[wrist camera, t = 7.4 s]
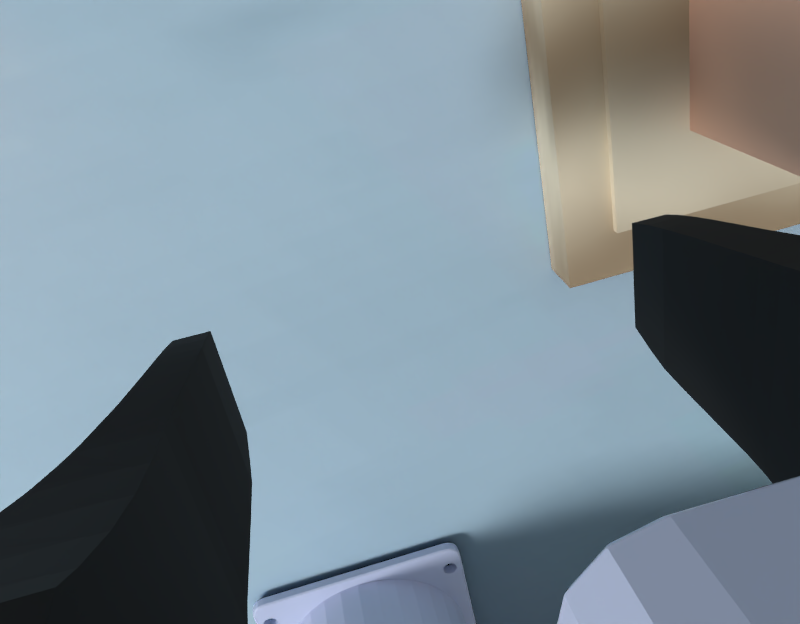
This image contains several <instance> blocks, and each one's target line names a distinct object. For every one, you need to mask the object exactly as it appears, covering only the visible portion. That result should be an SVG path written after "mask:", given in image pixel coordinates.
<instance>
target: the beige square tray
mask: <svg viewBox="0 0 800 624" xmlns="http://www.w3.org/2000/svg"><path fill="white" fill-rule="evenodd" d="M521 4H522V13H523V21H524V30H525V39H526V48H527V57H528V65H529V74H530V83H531V92H532V100H533V109H534V118H535V127H536V135H537V144H538V153H539V162H540V170H541V179H542V188H543V197H544V205H545V214H546V223H547V232H548V240H549V249H550V258H551V267H552V270H553V271H554V272H555V273H556V274H557V275H558V276H559V277H560V278H561V279H562V280H563V281H564V282H565V283H566V284H567V285H568V286H569V287H570V288H572V287H576V286H580V285H583V284H587V283H590V282H594V281H597V280H601V279H605V278H608V277H612V276H615V275H619V274H622V273H626V272H630V271H633V270H634V269H633V241H632V223H634V222H638V221H642V220H646V219H650V218H654V217H658V216H662V215H666V214H669V215H685V216H693V217H700V218H706V219H712V220H718V221H723V222H729V223H734V224H740V225H745V226H750V227H755V228H761V229H766V230H772V231H776V230H780V229H783V228H787V227H790V226H794V225H797V224H800V176H798V175H795V174H793V173H790V172H788V171H786V170H783V169H781V168H779V167H776V166H774V165H771V164H769V163H767V162H764V161H762V160H760V159H757V158H755V157H752V156H750V155H748V154H745V153H743V152H740V151H738V150H736V149H733V148H731V147H729V146H726V145H724V144H721V143H719V142H717V141H714V140H712V139H710V138H707V137H705V136H702V135H700V134H698V133H695V132H693V131H691V130H690V63H689V0H521Z"/></svg>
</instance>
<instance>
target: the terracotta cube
mask: <svg viewBox="0 0 800 624" xmlns="http://www.w3.org/2000/svg"><path fill="white" fill-rule="evenodd" d="M689 63H690V130H691V131H693V132H695V133H698V134H700V135H702V136H705V137H707V138H710V139H712V140H714V141H717V142H719V143H721V144H724V145H726V146H729V147H731V148H733V149H736V150H738V151H740V152H743V153H745V154H748V155H750V156H752V157H755V158H757V159H760V160H762V161H764V162H767V163H769V164H771V165H774V166H776V167H779V168H781V169H783V170H786V171H788V172H790V173H793V174H795V175H798V176H800V0H689Z"/></svg>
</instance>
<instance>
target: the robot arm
mask: <svg viewBox="0 0 800 624" xmlns="http://www.w3.org/2000/svg"><path fill="white" fill-rule="evenodd" d="M632 241H633V269H634V298H635V326H636V329H637V330H638V332H639V333H640V335H641V336H642V338H643V339H644V341H645V342H646V344H647V345H648V347H649V348H650V349H651V351H652V352H653V354H654V355H655V356H656V358H657V359H658V360H659V362H660V363H661V365H662V366H663V367H664V369H665V370H666V371H667V372H668V373H669V374H670V375H671V376H672V377H673V378H674V379H675V380H676V381H677V383H678V384H679V385H680V386H681V387H682V388H683V389H684V390H685V391H686V392H687V393H688V394H689V395H690V396H691V397H692V398H693V399H694V400H695V401H696V402H697V403H698V404H699V405H700V406H701V407H702V408H703V409H704V410H705V411H706V412H707V413H708V414H709V416H710V417H711V418H712V419H713V420H714V421H715V422H716V423H717V424H718V425H719V426H720V427H721V428H722V429H723V430H724V431H725V432H726V433H727V434H728V435H729V436H730V437H731V438H732V439H733V440H734V441H735V442H736V443H737V444H738V445H739V446H740V447H741V448H742V449H743V450H744V451H745V452H746V453H747V454H748V455H749V456H750V458H751V459H752V460H753V461H754V462H755V463H756V464H757V465H758V466H759V468H760V469H761V470H762V471H763V472H764V473H765V474H766V475H767V477H768V478H769V479H770V481H771V482H772V483H773V484H771V485H767V486H764V487H761V488H757V489H754V490H750V491H747V492H744V493H740V494H737V495H733V496H730V497H727V498H723V499H720V500H716V501H713V502H710V503H706V504H703V505H699V506H696V507H693V508H689V509H686V510H682V511H679V512H676V513H672V514H669V515H665V516H662V517H660V518H658V519H656V520H654V521H652V522H650V523H649V524H647V525H645V526H643V527H641V528H639V529H637V530H635V531H633V532H631V533H629V534H627V535H625V536H623V537H621V538H619V539H617V540H615V541H613V542H611V543H609V544H607V546H606V547H605V548H604V549H603V550H602V551H601V552H600V553H599V554H598V556H597V557H596V558H595V559H594V560H593V561H592V562H591V563H590V564H589V566H588V567H587V568H586V569H585V570H584V571H583V572H582V573H581V574H580V576H579V577H578V578H577V579H576V580H575V581H574V582H573V583H572V584H571V586H570V587H569V588H568V590H567V591H566V593H565V594H564V597H563V602H562V606H561V610H560V615H559V619H558V623H557V624H800V235H795V234H789V233H783V232H777V231H772V230H766V229H761V228H755V227H750V226H745V225H740V224H734V223H729V222H723V221H718V220H712V219H706V218H700V217H693V216H685V215H669V214H666V215H662V216H658V217H654V218H650V219H646V220H642V221H638V222H634V223H632ZM251 497H252V478H251V468H250V458H249V449H248V440H247V432H246V429H245V426H244V424H243V421H242V418H241V415H240V412H239V410H238V407H237V404H236V401H235V398H234V396H233V393H232V390H231V387H230V384H229V382H228V379H227V376H226V373H225V371H224V368H223V365H222V362H221V359H220V357H219V354H218V351H217V348H216V345H215V343H214V340H213V337H212V334H211V332H210V331H209V332H205V333H202V334H198V335H194V336H190V337H186V338H182V339H178V340H174V341H172V342H171V343H170V344H169V345H168V346H167V347H166V348H165V349H164V350H163V352H162V353H161V354H160V355H159V356H158V357H157V359H156V360H155V361H154V362H153V363H152V365H151V366H150V367H149V368H148V370H147V371H146V372H145V373H144V374H143V376H142V377H141V378H140V379H139V380H138V382H137V383H136V384H135V385H134V386H133V388H132V389H131V390H130V391H129V392H128V393H127V395H126V396H125V397H124V398H123V399H122V401H121V402H120V403H119V404H118V405H117V406H116V407H115V408H114V410H113V411H112V412H111V413H110V414H109V415H108V416H107V417H106V418H105V419H104V420H103V421H102V422H101V423H100V424H99V425H98V427H97V428H96V429H95V430H94V431H93V432H92V433H91V434H90V435H89V436H88V437H87V438H86V439H85V440H84V441H83V442H82V444H81V445H79V446H78V447H77V448H76V449H75V450H74V451H73V452H72V453H71V454H70V455H69V456H68V457H67V458H66V459H65V460H64V461H63V462H62V463H60V464H59V465H58V466H57V467H56V468H55V469H54V470H53V471H51V472H50V473H49V474H48V475H47V476H46V477H44V478H43V479H42V480H41V481H40V482H39V483H37V484H36V485H35V486H34V487H33V488H32V489H30V490H29V491H28V492H27V493H25V494H24V495H23V496H22V497H20V498H19V499H18V500H16V501H15V502H14V503H12V504H11V505H9V506H8V507H7V508H5V509H4V510H3V511H1V512H0V624H248V618H247V596H248V573H249V549H250V525H251ZM450 563H452V564H451V565H449V566H446V565H447V564H450ZM253 617H254V620H255V622H256V624H476V621H475V617H474V612H473V608H472V604H471V599H470V595H469V591H468V586H467V582H466V578H465V573H464V569H463V565H462V560H461V556H460V553H459V550H458V548H457V546H456V545H455V544H453V543H443V544H440V545H436V546H433V547H430V548H426V549H423V550H420V551H416V552H413V553H410V554H407V555H403V556H400V557H397V558H393V559H390V560H387V561H384V562H380V563H377V564H374V565H370V566H367V567H364V568H360V569H357V570H354V571H351V572H347V573H344V574H341V575H337V576H334V577H331V578H328V579H324V580H321V581H318V582H314V583H311V584H308V585H305V586H301V587H298V588H295V589H291V590H288V591H285V592H281V593H278V594H275V595H272V596H268V597H265V598H262V599H260V600H258V601H257V602H256V603H255V604H254V606H253ZM271 618H273V620H267V619H271Z"/></svg>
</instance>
